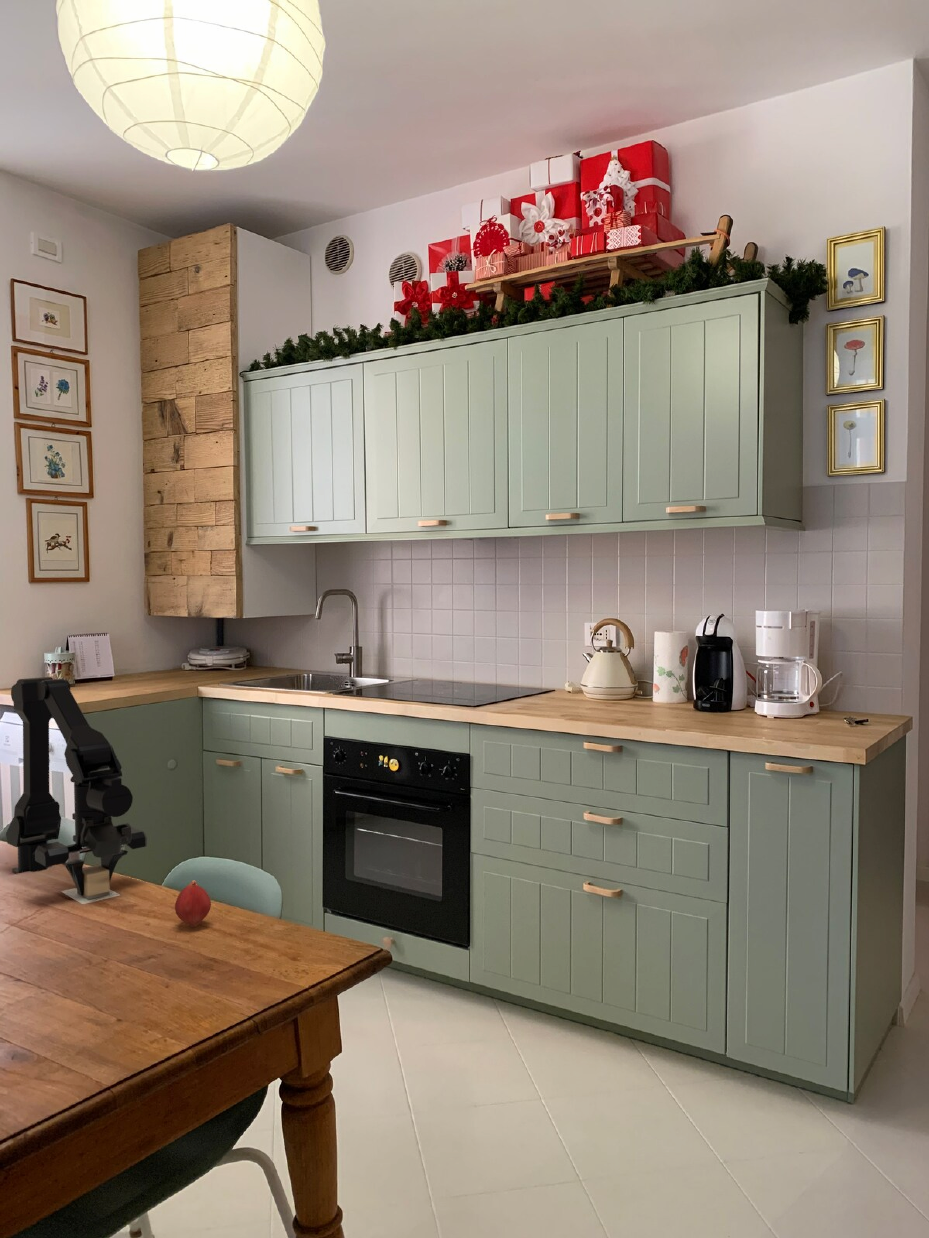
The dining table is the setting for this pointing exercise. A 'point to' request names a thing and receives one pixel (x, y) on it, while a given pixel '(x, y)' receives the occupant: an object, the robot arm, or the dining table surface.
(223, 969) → the dining table surface
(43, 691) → the robot arm
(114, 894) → the board
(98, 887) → the block
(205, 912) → the onion
